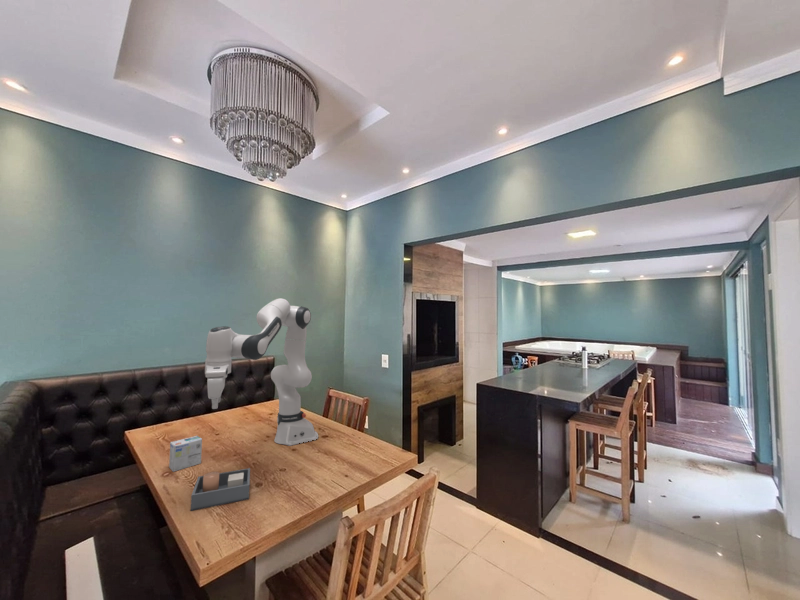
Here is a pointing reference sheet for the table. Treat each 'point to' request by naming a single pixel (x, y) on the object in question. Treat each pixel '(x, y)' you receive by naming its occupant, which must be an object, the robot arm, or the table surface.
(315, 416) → the table surface
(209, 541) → the table surface
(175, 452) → the light bulb box
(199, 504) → the box
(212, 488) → the tan rounded cylinder
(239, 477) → the cream cube
